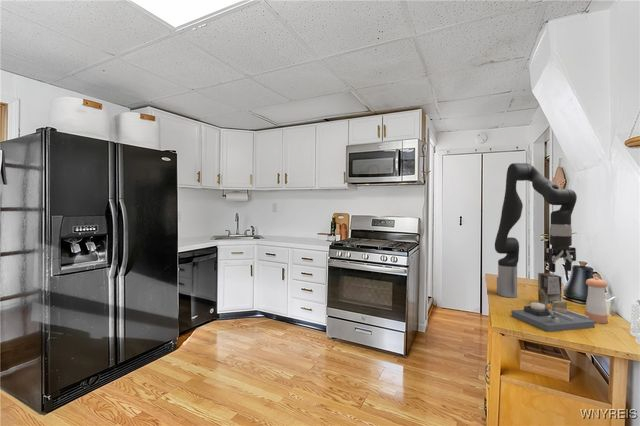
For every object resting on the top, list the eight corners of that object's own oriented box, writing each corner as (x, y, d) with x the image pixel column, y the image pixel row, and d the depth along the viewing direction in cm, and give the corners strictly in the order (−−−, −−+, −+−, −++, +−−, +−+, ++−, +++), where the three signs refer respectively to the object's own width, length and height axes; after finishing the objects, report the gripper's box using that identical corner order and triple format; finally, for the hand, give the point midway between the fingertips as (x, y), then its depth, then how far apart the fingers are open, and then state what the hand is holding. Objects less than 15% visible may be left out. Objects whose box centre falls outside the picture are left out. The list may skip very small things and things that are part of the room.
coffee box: (562, 309, 144) (562, 276, 144) (547, 308, 145) (547, 276, 145) (551, 303, 153) (551, 272, 153) (537, 302, 154) (537, 272, 154)
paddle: (552, 312, 132) (552, 301, 132) (563, 311, 133) (563, 300, 133) (555, 313, 131) (555, 302, 131) (566, 312, 132) (566, 301, 132)
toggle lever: (549, 318, 123) (543, 304, 122) (552, 316, 123) (547, 302, 123) (553, 320, 121) (548, 306, 120) (557, 317, 121) (552, 304, 121)
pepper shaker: (612, 322, 127) (612, 278, 126) (598, 324, 125) (598, 279, 125) (594, 316, 134) (594, 275, 134) (580, 317, 133) (580, 275, 132)
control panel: (511, 315, 136) (511, 306, 136) (553, 312, 140) (553, 303, 140) (548, 331, 118) (548, 320, 118) (594, 327, 122) (594, 316, 122)
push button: (527, 308, 134) (527, 302, 134) (537, 307, 135) (537, 301, 135) (538, 312, 129) (538, 306, 129) (548, 311, 130) (548, 305, 130)
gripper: (564, 233, 134) (564, 268, 134) (539, 234, 131) (538, 270, 131) (582, 235, 126) (582, 272, 127) (555, 235, 123) (555, 274, 124)
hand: (560, 271), depth 129 cm, fingers open, 8 cm apart
